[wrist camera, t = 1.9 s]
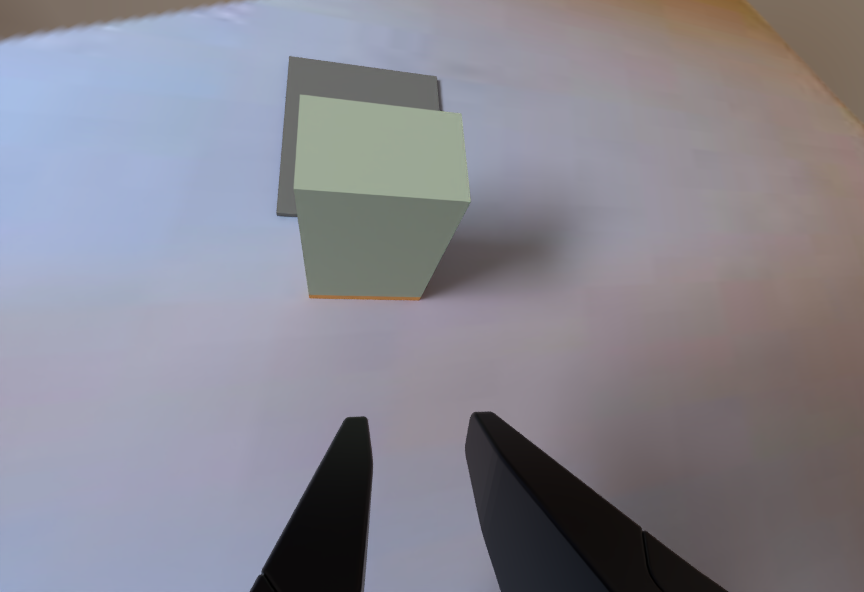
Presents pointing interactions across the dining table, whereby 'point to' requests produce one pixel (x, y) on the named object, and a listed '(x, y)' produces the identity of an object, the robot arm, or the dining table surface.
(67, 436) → the dining table surface
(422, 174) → the block
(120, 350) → the dining table surface
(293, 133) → the mat
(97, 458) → the dining table surface
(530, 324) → the dining table surface
